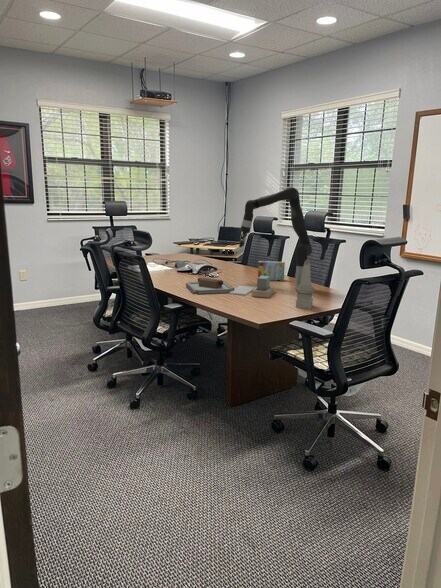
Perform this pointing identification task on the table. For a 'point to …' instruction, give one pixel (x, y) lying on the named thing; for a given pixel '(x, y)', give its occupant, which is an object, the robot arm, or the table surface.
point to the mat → (242, 290)
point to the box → (263, 283)
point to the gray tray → (209, 286)
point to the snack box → (271, 269)
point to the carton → (263, 292)
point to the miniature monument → (305, 288)
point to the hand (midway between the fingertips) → (241, 246)
